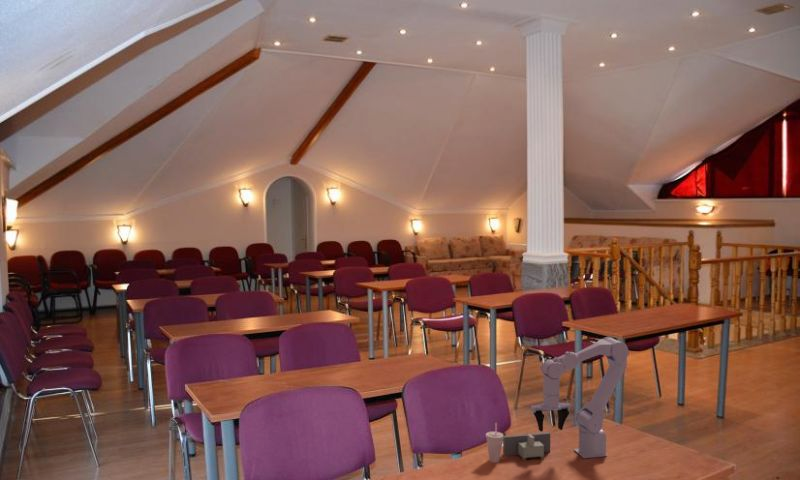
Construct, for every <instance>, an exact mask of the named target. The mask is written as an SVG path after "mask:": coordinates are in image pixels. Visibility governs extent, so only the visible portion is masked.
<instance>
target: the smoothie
mask: <svg viewBox="0 0 800 480" xmlns="http://www.w3.org/2000/svg"><path fill="white" fill-rule="evenodd" d="M494 426H495V428H494V431H487V432H486V433H485V438H486V445H487V453H488V460H489V462H491V463H495V464H496V463H499V462H500V461H501V460H500V459H501V452H502V447H503V445H502V444H503V436H504V434H503V433H502V432H500V431H498V423H497V422H495V425H494Z"/></svg>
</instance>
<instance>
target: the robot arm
mask: <svg viewBox="0 0 800 480" xmlns="http://www.w3.org/2000/svg"><path fill="white" fill-rule="evenodd" d="M599 355H601V356H605V358H606V359H607V361H608V364H609V365H608V368H607V370H606V371H605V373H604V375H603V377H602V379H601V381H600V383H599V385H598V386H597V387H596V389H595V392H594V394H593V396H592V397H591V399H590V400H589V402H586V403H584V404H583V406H582V408H581V409H579V410H578V411H577V413H576V415H575V420H576V422H577V424H578V448H574V449H573V451H575V452H576V454H578V455H580V457H581V458H583V459H589V458H590V459H591V458H600V457H601V458H602V457H608V455H607V435H606V433H605V431H604V430H603V429H602V428H603V425H604V423H603V422H604V421H605V411H604V410H605V408H606V406H607V404H608V402H609V400H610V399H611V398H612V395H613V393H614V391H615V389H616V387H617V386H618V384H619V382H620V380H621V379H622V376H623V374H624V373H625V371H626V369H627V363H628V362H627V361H628V356H629V355H630V350H629V348H628V346H627V344H626V343H625V342H622V341H619V340H618V339H615V338H614V337H611V336H606V337H603V338H600V339H599V340H597V341H596V342H594V343H592V344H590V345H588V346H587V347H585V348H583V349H581V350H579V351H578V352H573V351H565V352H564V354H562V355H560V356H556V357H554V358H553V359H546V360H545V361H544V362H543V363H542V364H541V365H542V366H540V370H541V373H542V374H543V381H542V382H543V388H542V389H543V390H542V392H543V393H542V395H543V396H542V399H543V400H542V403H539V404H538V403H537V404H535V405H531V407H530V411H531V413H532V414H533V415H534V418H535V420H536V423H537V427H538V431H539V432H540V433H543V431H544V418H545V414H544V413H543V412H548V411H549V412H550V411H556V412H557V420H558V421H557V428H558V430H559V431H563V428H564V425H565V422H566V420H567V418H568V417H569V415H570V411H571V408H572V406H571V404H570V403H569V402H566V403H565V402H560V383H561V382H560V378H561V377H562V376H563V374H564V373H566V372H568V371H570V370H573V369H575V368H578V367H579V366H580V363H581V362H583V361H585V360H588V359H591V358H593V357H597V356H599Z"/></svg>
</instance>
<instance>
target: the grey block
mask: <svg viewBox="0 0 800 480" xmlns="http://www.w3.org/2000/svg"><path fill="white" fill-rule="evenodd" d="M527 434H528V441H526V442H518V455H517V456H518V457H521V456H522V458H521V460H522V461H523V462H525V461H527V459H529V458H539V459H540V460H543V459H544V457H545V452H544V445H543V444H542V443H541V442H540V441H539V440H537V441H534V437H533V436H532V435H531V434H532V433H527Z"/></svg>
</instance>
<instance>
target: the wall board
mask: <svg viewBox="0 0 800 480" xmlns="http://www.w3.org/2000/svg"><path fill="white" fill-rule="evenodd" d="M528 434H529V433H523V434H521V433H520V434H513V435H503V439H502V444H503V445H502V447H503V448H502V455H503V456H504V457H507V456H508V457H509V456H518V442H526V441H528ZM530 434H531V435H532V436H533V437H534V441H537V440H539V441H540V442H541V443H542V444H543V445H544V453H549V452H551V432H549V431H544V432H543V431H542V432H534V433H530ZM520 458H521V459H522V456H520Z"/></svg>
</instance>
